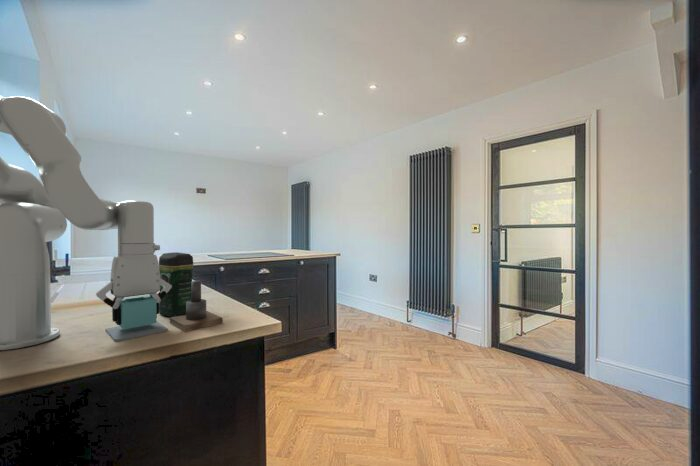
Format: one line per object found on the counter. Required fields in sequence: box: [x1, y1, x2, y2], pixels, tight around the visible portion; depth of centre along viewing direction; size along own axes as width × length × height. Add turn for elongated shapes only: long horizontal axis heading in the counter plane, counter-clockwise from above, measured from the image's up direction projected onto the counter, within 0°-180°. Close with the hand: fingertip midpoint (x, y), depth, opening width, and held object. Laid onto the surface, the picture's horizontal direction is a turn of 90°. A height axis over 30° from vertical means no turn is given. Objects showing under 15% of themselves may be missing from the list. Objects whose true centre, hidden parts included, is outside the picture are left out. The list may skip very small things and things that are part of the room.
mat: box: [104, 320, 169, 343], centre depth 81 cm, size 11×11×1 cm
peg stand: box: [169, 280, 223, 332], centre depth 87 cm, size 10×10×12 cm
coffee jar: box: [158, 251, 195, 318], centre depth 96 cm, size 10×8×19 cm
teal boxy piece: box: [118, 294, 157, 329], centre depth 80 cm, size 7×7×6 cm
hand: (136, 320), depth 81 cm, fingers closed on teal boxy piece, 7 cm apart
